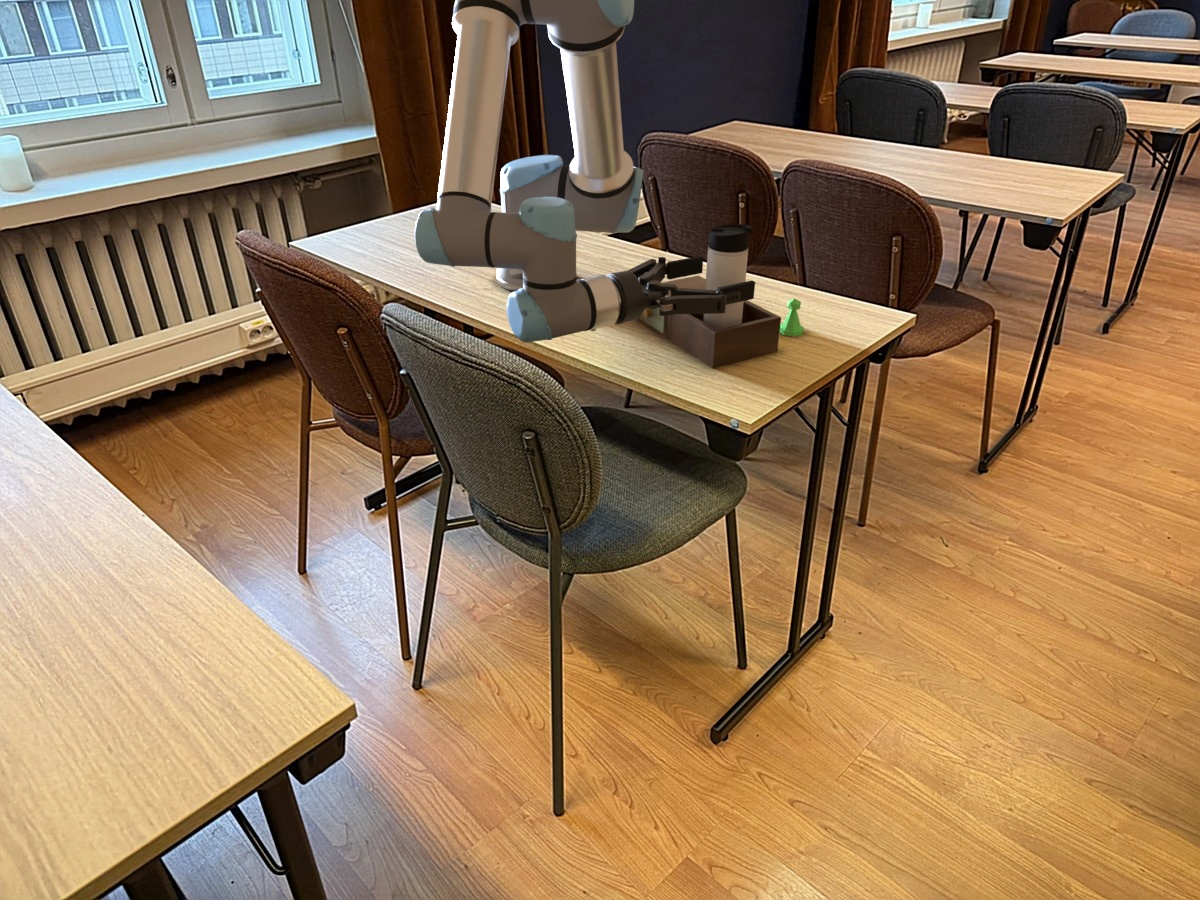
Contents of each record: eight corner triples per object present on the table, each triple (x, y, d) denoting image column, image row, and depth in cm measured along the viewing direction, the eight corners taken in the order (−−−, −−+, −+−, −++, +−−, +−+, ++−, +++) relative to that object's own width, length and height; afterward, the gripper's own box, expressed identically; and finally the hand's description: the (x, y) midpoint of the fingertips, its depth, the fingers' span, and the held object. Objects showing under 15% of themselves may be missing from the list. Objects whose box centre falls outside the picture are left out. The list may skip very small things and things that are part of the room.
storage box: (629, 321, 150) (629, 288, 147) (696, 306, 156) (698, 275, 153) (705, 370, 133) (708, 334, 130) (777, 351, 139) (781, 317, 136)
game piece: (808, 331, 146) (813, 298, 143) (794, 338, 144) (798, 304, 141) (787, 324, 149) (791, 292, 146) (773, 331, 146) (776, 298, 143)
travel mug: (740, 354, 138) (751, 232, 128) (699, 351, 139) (707, 230, 129) (742, 339, 143) (753, 221, 133) (703, 336, 144) (711, 218, 134)
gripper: (571, 297, 137) (681, 276, 146) (654, 353, 118) (774, 325, 127) (570, 252, 133) (683, 233, 142) (655, 302, 115) (779, 276, 124)
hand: (726, 276), depth 135 cm, fingers open, 13 cm apart
